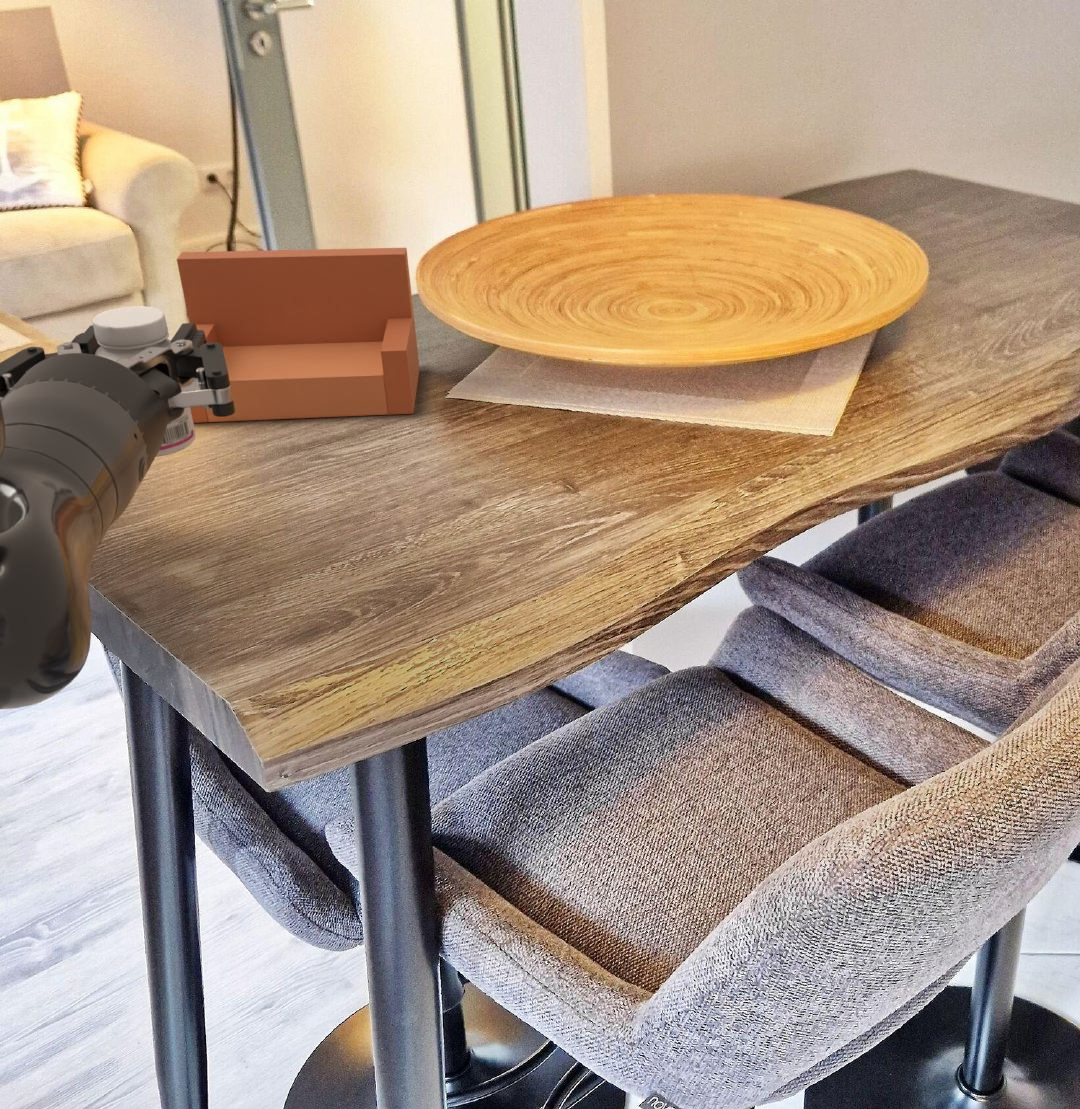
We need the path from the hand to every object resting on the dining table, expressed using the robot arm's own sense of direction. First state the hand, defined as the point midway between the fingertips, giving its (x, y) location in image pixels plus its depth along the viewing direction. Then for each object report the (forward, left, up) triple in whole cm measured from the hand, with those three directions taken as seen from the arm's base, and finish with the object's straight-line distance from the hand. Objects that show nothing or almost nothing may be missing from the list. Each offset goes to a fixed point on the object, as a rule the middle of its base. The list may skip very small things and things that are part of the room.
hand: (146, 339), depth 77 cm
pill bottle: (0, -3, -6) cm, 7 cm away
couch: (+5, +22, -13) cm, 26 cm away
